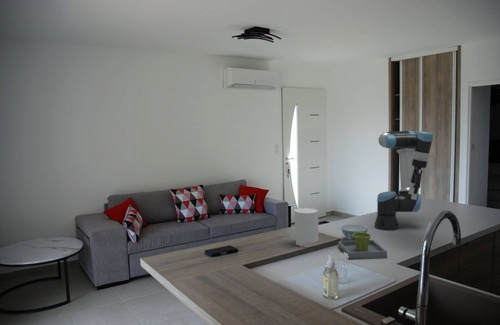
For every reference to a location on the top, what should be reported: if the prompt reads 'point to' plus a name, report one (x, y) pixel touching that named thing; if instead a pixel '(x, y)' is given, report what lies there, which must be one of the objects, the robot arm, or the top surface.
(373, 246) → the tray
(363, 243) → the plant pot
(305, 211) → the canister
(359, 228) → the chinaware
